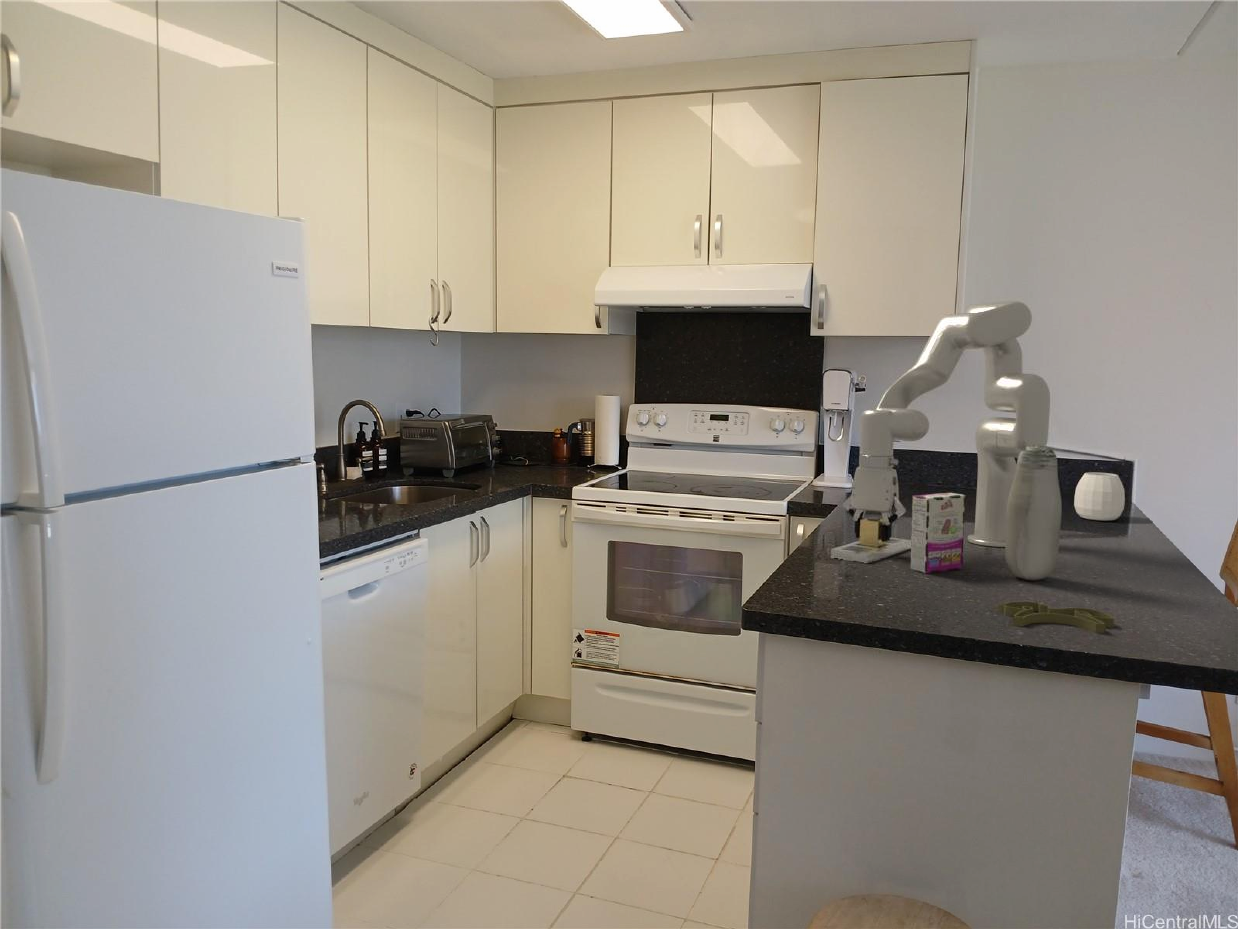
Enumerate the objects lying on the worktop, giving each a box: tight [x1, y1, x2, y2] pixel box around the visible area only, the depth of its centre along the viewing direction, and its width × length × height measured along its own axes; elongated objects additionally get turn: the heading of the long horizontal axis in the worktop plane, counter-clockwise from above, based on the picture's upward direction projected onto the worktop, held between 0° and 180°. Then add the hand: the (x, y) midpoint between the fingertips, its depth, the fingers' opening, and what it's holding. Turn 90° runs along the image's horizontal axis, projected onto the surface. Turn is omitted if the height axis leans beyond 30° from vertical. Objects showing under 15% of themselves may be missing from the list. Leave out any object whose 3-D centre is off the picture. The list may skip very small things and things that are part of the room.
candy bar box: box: [909, 492, 966, 574], centre depth 198 cm, size 11×5×16 cm, turn 117°
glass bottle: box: [1004, 445, 1063, 581], centre depth 189 cm, size 10×10×28 cm
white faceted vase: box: [1073, 472, 1126, 522], centre depth 270 cm, size 13×13×14 cm
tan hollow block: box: [859, 516, 886, 548], centre depth 215 cm, size 4×4×8 cm
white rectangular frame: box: [830, 537, 911, 564], centre depth 215 cm, size 9×24×2 cm, turn 140°
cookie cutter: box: [996, 600, 1115, 634], centre depth 159 cm, size 18×12×2 cm, turn 72°
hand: (872, 538), depth 215 cm, fingers open, 5 cm apart
